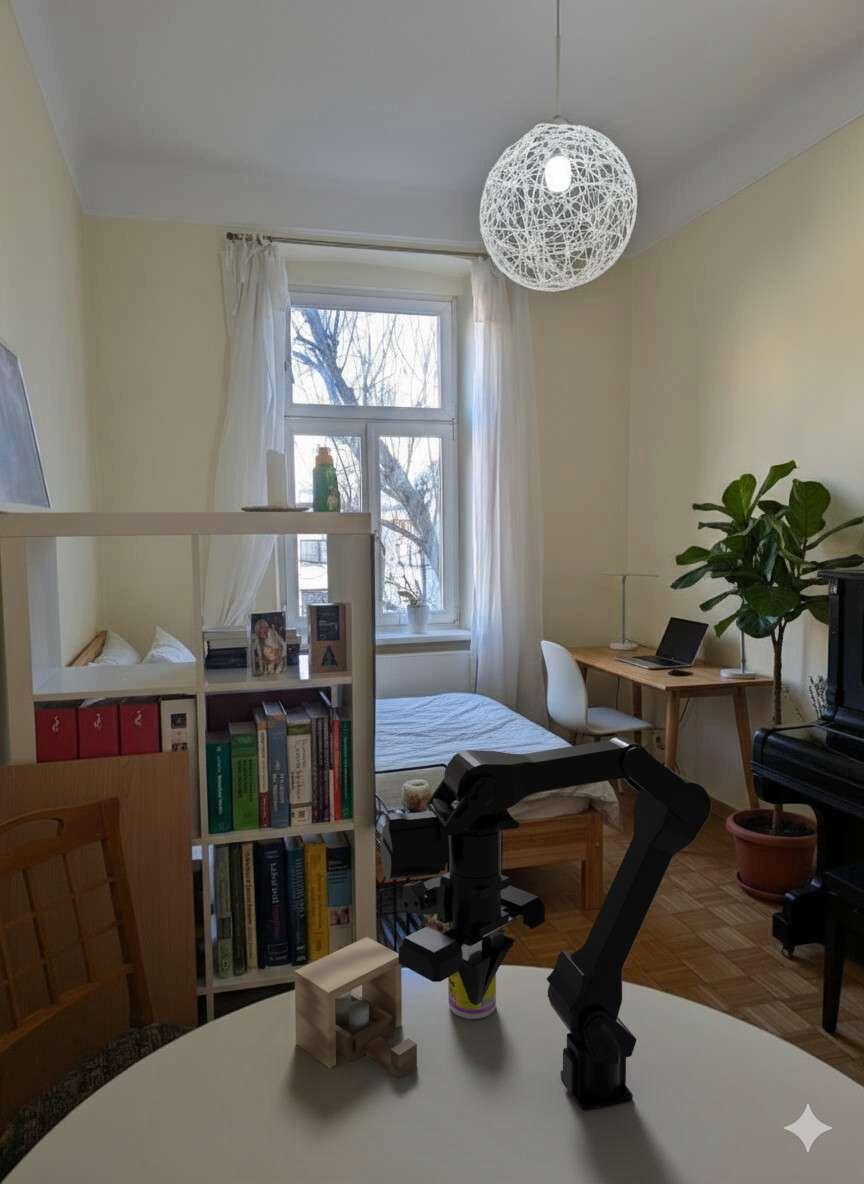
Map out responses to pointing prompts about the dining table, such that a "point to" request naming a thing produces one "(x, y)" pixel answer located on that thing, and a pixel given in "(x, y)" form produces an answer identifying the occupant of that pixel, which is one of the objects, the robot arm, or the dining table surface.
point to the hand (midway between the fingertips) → (475, 1002)
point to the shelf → (336, 978)
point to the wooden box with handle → (370, 1035)
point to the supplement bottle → (461, 1002)
